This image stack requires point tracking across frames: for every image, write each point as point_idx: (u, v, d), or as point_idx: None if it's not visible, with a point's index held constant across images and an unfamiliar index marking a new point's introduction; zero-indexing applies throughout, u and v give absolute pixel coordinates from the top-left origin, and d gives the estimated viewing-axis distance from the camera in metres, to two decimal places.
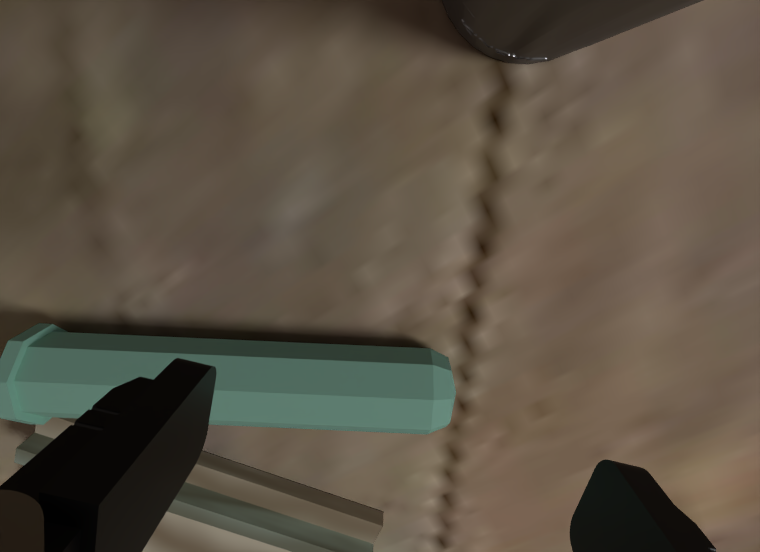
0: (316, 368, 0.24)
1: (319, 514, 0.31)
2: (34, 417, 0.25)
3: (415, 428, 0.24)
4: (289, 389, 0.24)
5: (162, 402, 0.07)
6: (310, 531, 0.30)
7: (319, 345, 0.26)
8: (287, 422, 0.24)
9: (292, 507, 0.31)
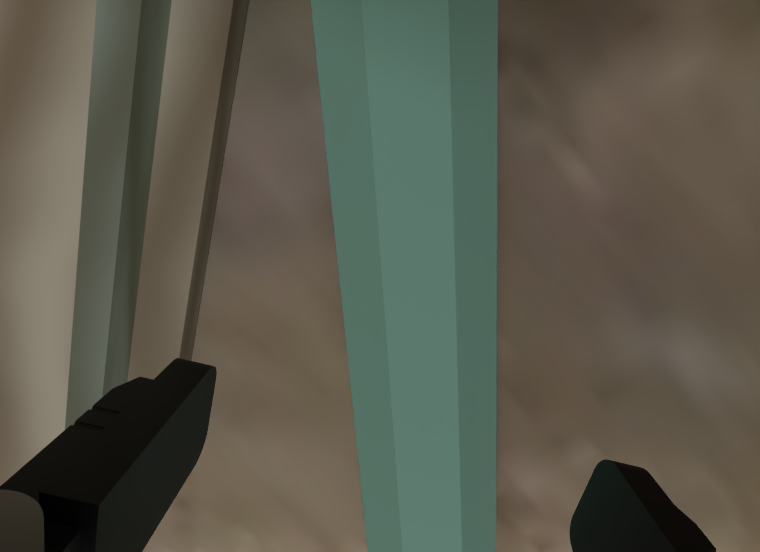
0: (487, 468, 0.15)
1: None
2: None
3: None
4: (464, 452, 0.13)
5: (162, 402, 0.07)
6: None
7: None
8: (397, 454, 0.13)
9: None
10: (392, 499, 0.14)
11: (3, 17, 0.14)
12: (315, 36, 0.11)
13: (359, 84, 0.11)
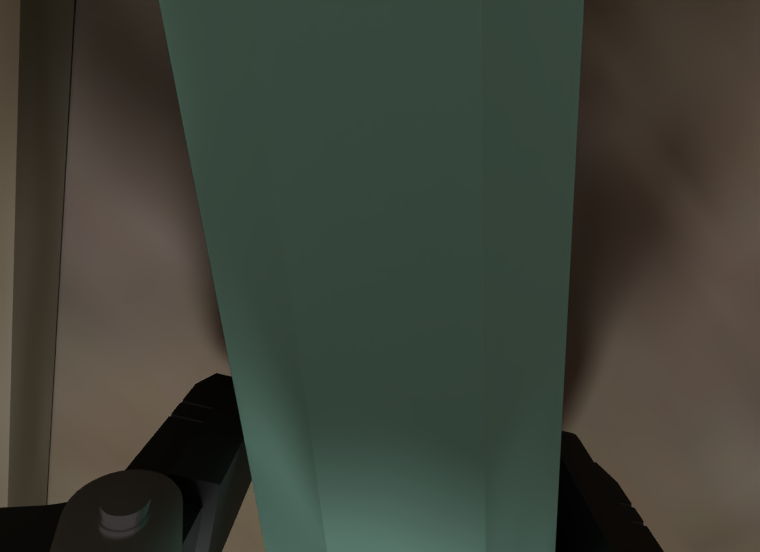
0: None
1: None
2: None
3: None
4: None
5: None
6: None
7: None
8: None
9: None
10: None
11: None
12: None
13: (232, 7, 0.04)
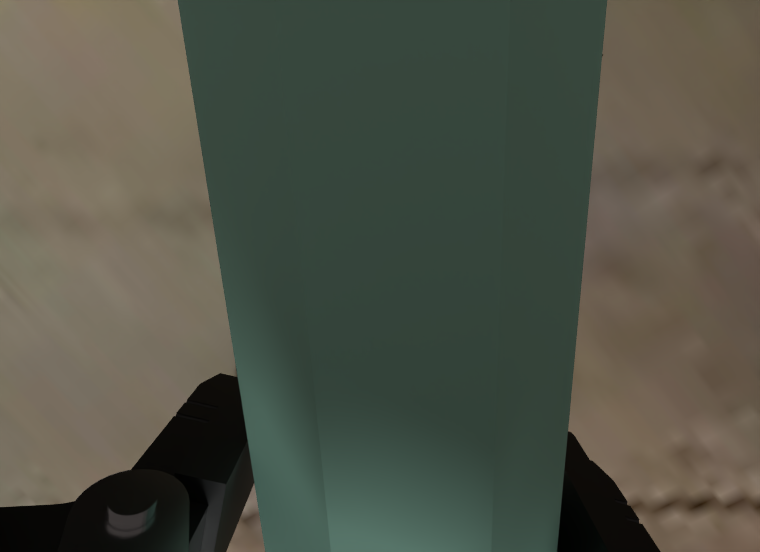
0: None
1: None
2: None
3: None
4: None
5: None
6: None
7: None
8: None
9: None
10: None
11: None
12: None
13: None
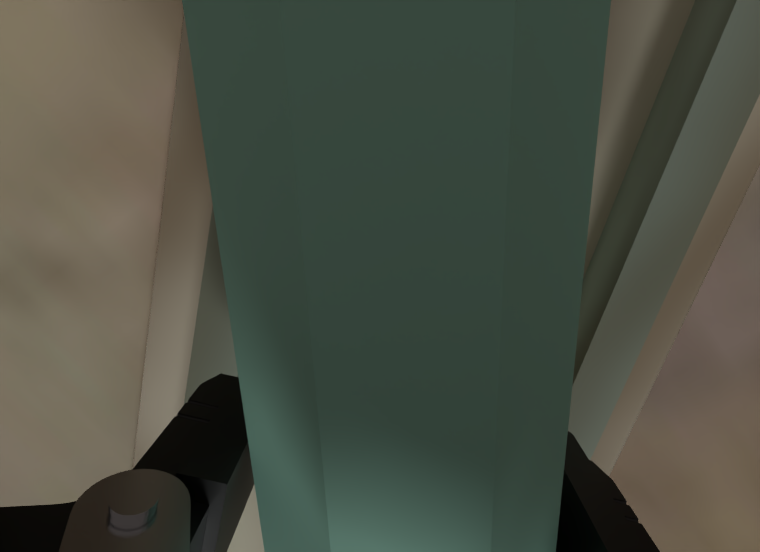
0: None
1: None
2: None
3: None
4: None
5: None
6: None
7: None
8: None
9: None
10: None
11: None
12: None
13: None
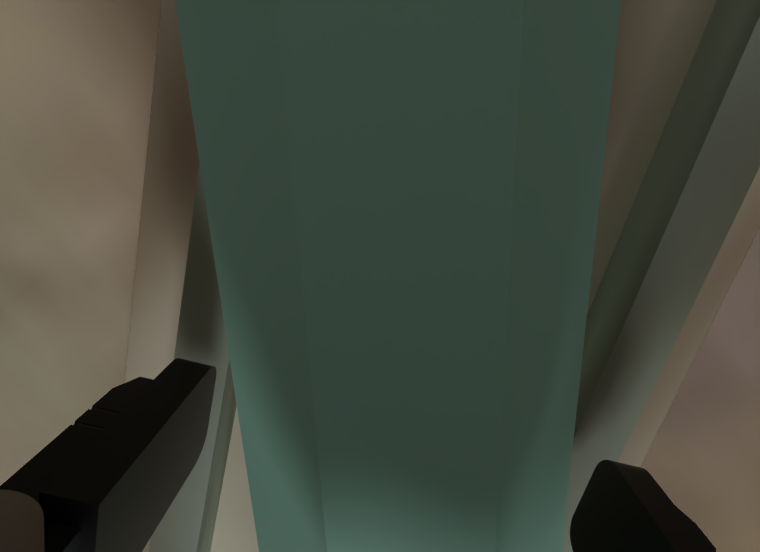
0: None
1: None
2: None
3: None
4: None
5: (162, 402, 0.07)
6: None
7: None
8: None
9: None
10: None
11: None
12: None
13: (256, 5, 0.04)
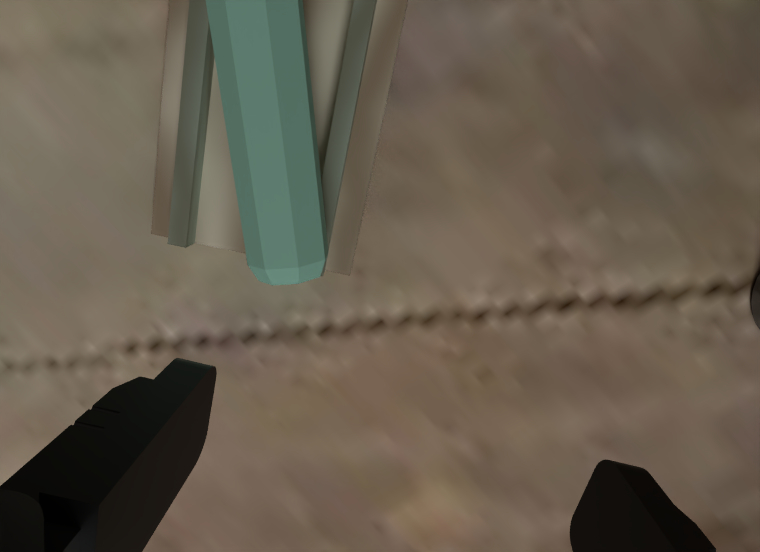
0: (306, 148, 0.24)
1: (351, 212, 0.30)
2: None
3: (263, 255, 0.25)
4: (284, 122, 0.23)
5: (162, 402, 0.07)
6: (336, 207, 0.30)
7: None
8: (244, 122, 0.23)
9: (354, 184, 0.30)
10: (246, 160, 0.24)
11: None
12: None
13: None
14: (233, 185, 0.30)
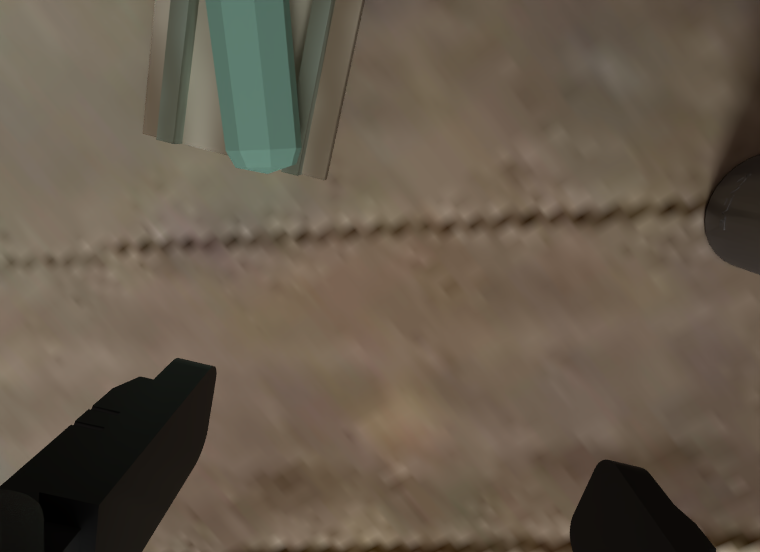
0: (279, 36, 0.27)
1: (326, 118, 0.33)
2: None
3: (238, 136, 0.27)
4: (258, 8, 0.25)
5: (162, 402, 0.07)
6: (312, 111, 0.32)
7: (291, 41, 0.28)
8: (222, 6, 0.25)
9: (329, 90, 0.32)
10: (223, 44, 0.26)
11: None
12: None
13: None
14: None
